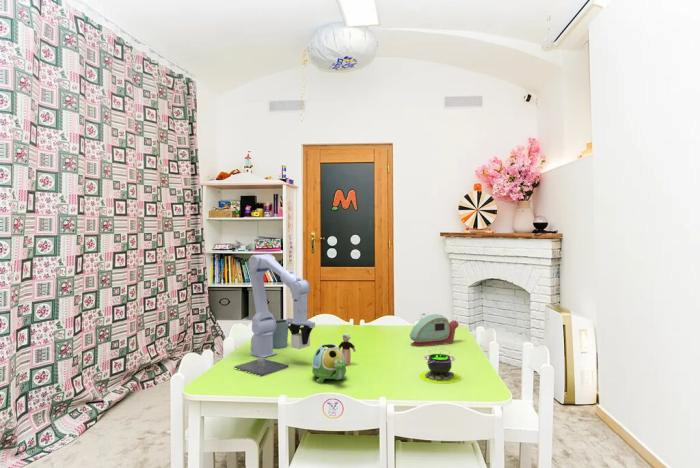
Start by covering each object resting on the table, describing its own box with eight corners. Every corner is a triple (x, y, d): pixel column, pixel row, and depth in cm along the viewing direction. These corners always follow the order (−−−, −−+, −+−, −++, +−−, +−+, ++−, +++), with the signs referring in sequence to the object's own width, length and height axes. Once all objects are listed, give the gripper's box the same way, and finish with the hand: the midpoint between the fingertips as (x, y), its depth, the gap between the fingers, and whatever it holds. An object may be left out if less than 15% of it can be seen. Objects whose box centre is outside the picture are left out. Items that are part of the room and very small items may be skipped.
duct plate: (234, 368, 182) (234, 358, 182) (261, 360, 193) (261, 351, 193) (261, 376, 172) (261, 365, 172) (288, 367, 183) (288, 357, 183)
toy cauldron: (431, 368, 180) (431, 340, 180) (467, 376, 171) (467, 346, 171) (411, 378, 169) (411, 348, 169) (448, 387, 159) (448, 355, 159)
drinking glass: (263, 348, 214) (263, 322, 214) (273, 343, 223) (273, 318, 223) (283, 349, 211) (283, 323, 211) (292, 344, 220) (292, 319, 220)
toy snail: (414, 347, 213) (414, 317, 213) (407, 343, 220) (407, 314, 220) (462, 343, 220) (462, 314, 220) (454, 339, 227) (454, 311, 227)
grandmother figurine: (336, 365, 186) (336, 333, 186) (338, 362, 189) (337, 331, 189) (355, 365, 185) (355, 334, 184) (356, 363, 188) (356, 332, 188)
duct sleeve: (299, 349, 185) (298, 336, 185) (291, 347, 188) (291, 335, 188) (309, 345, 190) (309, 333, 190) (302, 344, 193) (302, 332, 193)
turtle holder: (324, 390, 157) (323, 355, 157) (307, 375, 173) (307, 343, 173) (357, 385, 162) (357, 351, 162) (338, 370, 178) (337, 340, 178)
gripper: (280, 309, 190) (281, 342, 190) (306, 313, 181) (306, 347, 181) (292, 307, 196) (293, 339, 196) (318, 310, 187) (318, 344, 187)
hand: (300, 343), depth 189 cm, fingers closed on duct sleeve, 4 cm apart
